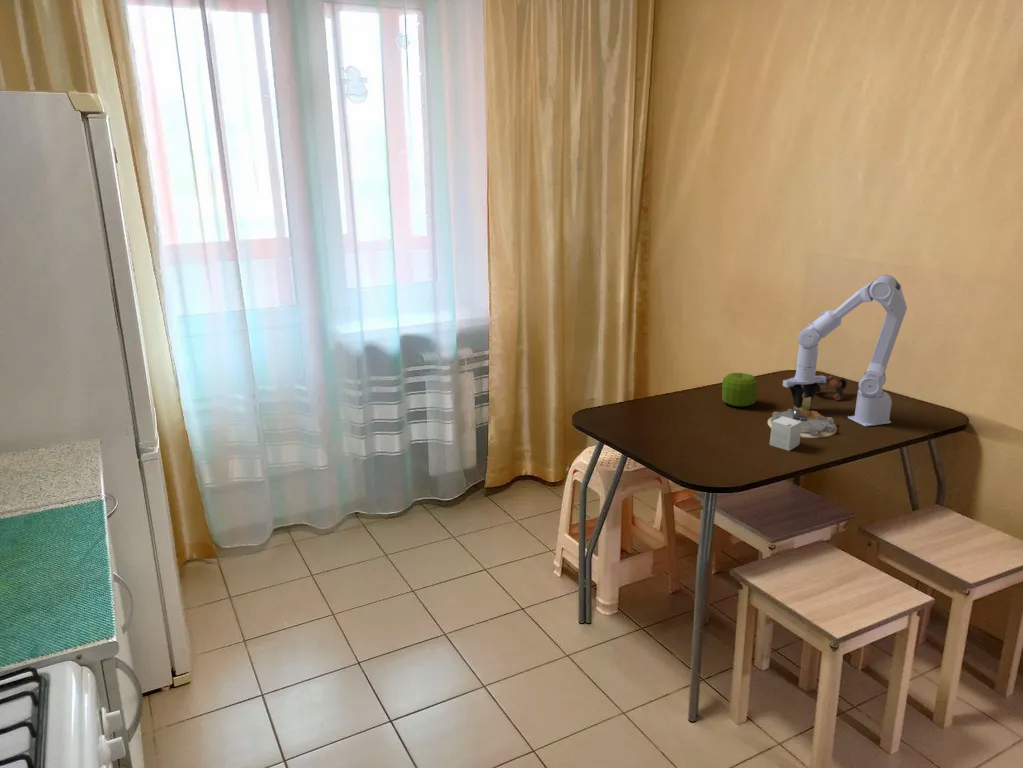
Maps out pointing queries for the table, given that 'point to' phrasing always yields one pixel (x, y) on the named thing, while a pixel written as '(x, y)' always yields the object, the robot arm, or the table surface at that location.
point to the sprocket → (808, 420)
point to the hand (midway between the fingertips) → (801, 406)
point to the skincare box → (785, 433)
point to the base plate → (807, 435)
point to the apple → (739, 389)
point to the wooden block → (804, 403)
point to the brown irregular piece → (835, 384)
